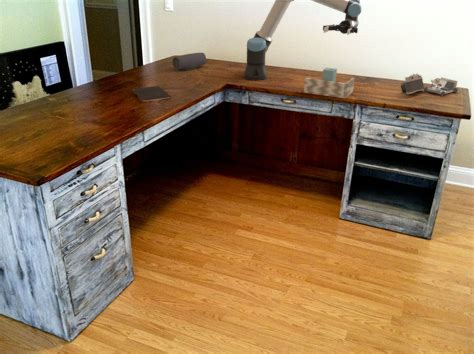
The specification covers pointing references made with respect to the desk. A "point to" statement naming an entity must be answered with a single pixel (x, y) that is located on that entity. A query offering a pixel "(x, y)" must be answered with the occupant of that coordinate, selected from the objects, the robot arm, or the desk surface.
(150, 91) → the hardcover book
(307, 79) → the arena
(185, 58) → the bluetooth speaker
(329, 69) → the teal block
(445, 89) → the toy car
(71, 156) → the desk surface
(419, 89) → the camera
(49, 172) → the desk surface
